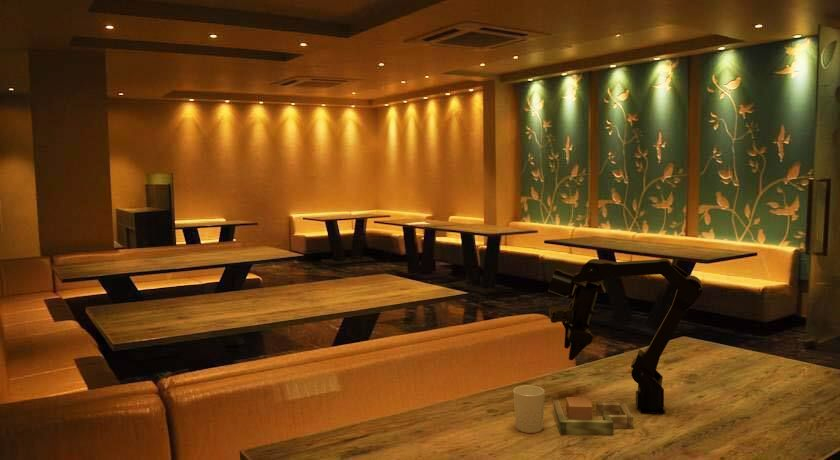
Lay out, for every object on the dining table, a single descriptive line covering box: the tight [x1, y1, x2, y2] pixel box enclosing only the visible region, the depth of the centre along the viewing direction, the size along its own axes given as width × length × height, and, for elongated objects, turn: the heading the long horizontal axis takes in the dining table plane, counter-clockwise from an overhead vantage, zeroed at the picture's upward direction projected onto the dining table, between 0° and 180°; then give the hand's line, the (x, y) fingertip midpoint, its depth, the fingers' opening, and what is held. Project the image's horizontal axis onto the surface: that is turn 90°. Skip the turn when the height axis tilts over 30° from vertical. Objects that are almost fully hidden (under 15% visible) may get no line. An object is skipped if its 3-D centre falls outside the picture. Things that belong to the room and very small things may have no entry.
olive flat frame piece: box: [552, 400, 634, 436], centre depth 174 cm, size 19×16×3 cm
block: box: [565, 396, 593, 420], centre depth 179 cm, size 6×7×4 cm
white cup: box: [512, 385, 545, 434], centre depth 171 cm, size 8×8×10 cm
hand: (568, 353), depth 190 cm, fingers open, 9 cm apart
